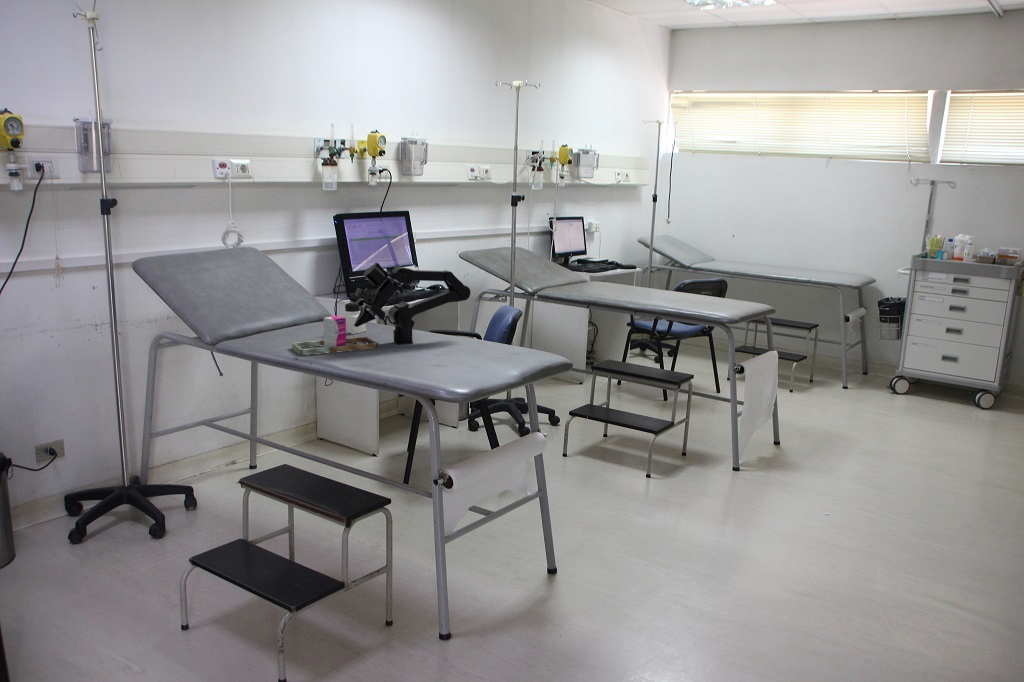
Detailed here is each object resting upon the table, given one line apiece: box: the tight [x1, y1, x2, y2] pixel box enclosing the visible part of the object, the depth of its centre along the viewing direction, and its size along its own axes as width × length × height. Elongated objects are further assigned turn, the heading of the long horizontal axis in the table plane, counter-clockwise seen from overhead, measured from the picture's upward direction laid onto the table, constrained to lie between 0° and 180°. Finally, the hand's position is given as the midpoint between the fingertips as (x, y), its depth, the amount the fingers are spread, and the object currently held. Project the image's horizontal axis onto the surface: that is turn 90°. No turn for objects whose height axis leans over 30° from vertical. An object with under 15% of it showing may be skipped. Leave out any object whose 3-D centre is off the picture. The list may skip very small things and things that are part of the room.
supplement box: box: [323, 315, 347, 348], centre depth 293 cm, size 6×6×12 cm
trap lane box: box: [291, 336, 380, 357], centre depth 294 cm, size 28×14×2 cm, turn 117°
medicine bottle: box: [339, 301, 367, 335], centre depth 324 cm, size 7×7×12 cm
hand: (355, 326), depth 296 cm, fingers closed
